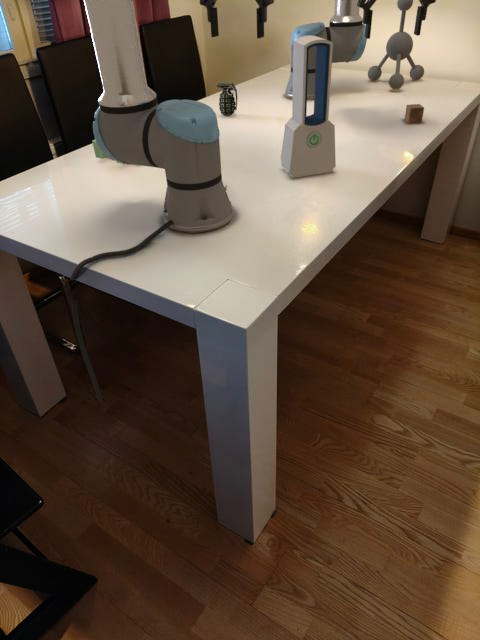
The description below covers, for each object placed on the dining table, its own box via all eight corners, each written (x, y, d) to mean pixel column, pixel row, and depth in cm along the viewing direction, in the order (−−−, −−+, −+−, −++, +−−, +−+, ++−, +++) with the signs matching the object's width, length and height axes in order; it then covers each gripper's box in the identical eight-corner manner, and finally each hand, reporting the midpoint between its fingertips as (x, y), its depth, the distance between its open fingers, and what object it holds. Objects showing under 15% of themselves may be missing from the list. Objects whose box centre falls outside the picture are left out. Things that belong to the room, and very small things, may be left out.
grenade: (217, 117, 168) (214, 86, 162) (221, 112, 172) (219, 82, 166) (235, 117, 166) (233, 86, 160) (239, 113, 171) (238, 82, 165)
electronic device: (289, 178, 122) (291, 42, 103) (279, 168, 128) (280, 37, 109) (335, 171, 124) (345, 37, 106) (323, 161, 130) (331, 32, 111)
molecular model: (441, 85, 188) (459, -9, 169) (393, 93, 182) (406, -3, 164) (404, 74, 205) (416, -12, 187) (359, 81, 200) (367, -7, 181)
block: (417, 119, 156) (419, 103, 153) (421, 123, 153) (424, 107, 150) (404, 119, 156) (406, 104, 153) (408, 123, 153) (410, 108, 150)
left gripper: (287, -69, 114) (286, 35, 127) (196, -63, 123) (204, 33, 136) (274, -69, 108) (274, 40, 121) (180, -62, 118) (190, 38, 131)
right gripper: (357, -60, 117) (349, 41, 130) (460, -66, 117) (442, 35, 130) (350, -59, 123) (343, 37, 136) (448, -65, 123) (432, 31, 136)
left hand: (237, 37), depth 129 cm, fingers open, 13 cm apart
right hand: (392, 36), depth 133 cm, fingers open, 13 cm apart
